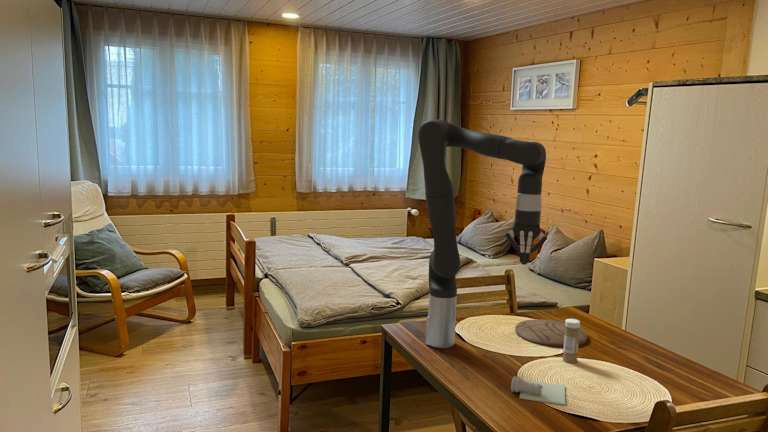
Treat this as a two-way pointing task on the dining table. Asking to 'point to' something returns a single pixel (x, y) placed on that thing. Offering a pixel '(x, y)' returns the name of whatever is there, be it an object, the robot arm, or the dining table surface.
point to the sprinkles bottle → (571, 340)
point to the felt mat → (546, 393)
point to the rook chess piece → (525, 386)
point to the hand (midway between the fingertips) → (524, 264)
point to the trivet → (546, 332)
